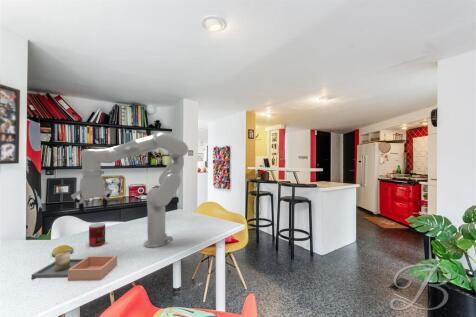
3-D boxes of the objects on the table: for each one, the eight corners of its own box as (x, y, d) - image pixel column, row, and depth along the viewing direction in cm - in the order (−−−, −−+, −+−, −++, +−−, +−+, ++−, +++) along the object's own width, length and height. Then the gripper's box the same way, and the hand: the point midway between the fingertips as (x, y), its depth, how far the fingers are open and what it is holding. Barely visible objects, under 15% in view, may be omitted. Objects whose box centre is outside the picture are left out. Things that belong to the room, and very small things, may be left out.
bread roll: (67, 249, 120) (67, 241, 120) (75, 252, 116) (75, 245, 116) (48, 254, 113) (48, 246, 113) (56, 258, 109) (56, 250, 109)
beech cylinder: (72, 265, 99) (72, 251, 99) (64, 271, 94) (64, 256, 94) (60, 265, 99) (61, 252, 99) (52, 271, 94) (52, 257, 94)
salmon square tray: (117, 265, 101) (117, 255, 101) (100, 281, 88) (100, 269, 88) (88, 266, 100) (88, 256, 100) (67, 281, 88) (67, 270, 88)
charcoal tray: (89, 262, 104) (89, 258, 104) (67, 278, 90) (67, 274, 90) (58, 263, 104) (58, 259, 104) (31, 279, 90) (31, 274, 90)
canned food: (97, 247, 122) (97, 227, 122) (85, 246, 124) (85, 226, 124) (108, 242, 130) (108, 223, 130) (96, 241, 131) (96, 222, 131)
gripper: (108, 172, 119) (110, 205, 119) (68, 176, 106) (70, 212, 106) (113, 173, 114) (115, 206, 114) (72, 176, 101) (74, 214, 101)
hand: (93, 209), depth 110 cm, fingers open, 9 cm apart
